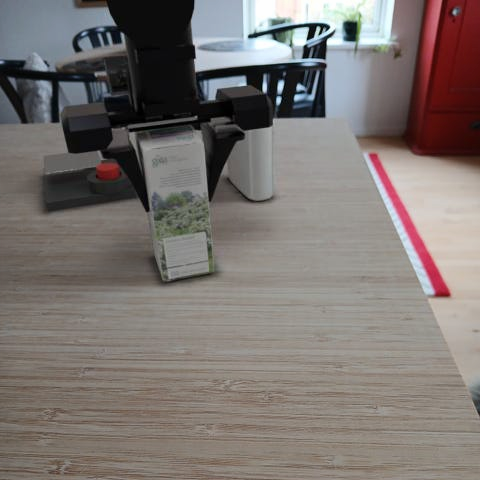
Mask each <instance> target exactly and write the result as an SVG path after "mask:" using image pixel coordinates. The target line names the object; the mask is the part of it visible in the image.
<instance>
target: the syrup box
mask: <svg viewBox="0 0 480 480" xmlns="http://www.w3.org/2000/svg"><path fill="white" fill-rule="evenodd" d="M133 133H134V140H135V146H136V154H137V158H138V161H139V165H140V169H141V172H142V176H143V180H144V183H145V187H146V191H147V194H148V201H149V210H150V212H146V213H147V218H148V224H149V225H148V226H149V230H150V236H151V243H152V248H153V254H154V258H155V261H156V264H157V266H158V270H159V273H160V275H161V279H162V281H163V282H164V283H167V282H173V281H177V280H182V279H183V280H184V279H189V278H193V277H198V276H203V275H210V274H214V273H215V263H214V251H213V239H212V227H211V216H210V202H209V201H208V189H207V177H206V164H205V151H204V143H203V139H201V137H200V134H198V131H197V130H195V129H194V128H193V126H192V125H185V126H177V127H169V128H162V129H154V130H146V131H139V132H133Z"/></svg>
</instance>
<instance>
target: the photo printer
mask: <svg viewBox="0 0 480 480" xmlns="http://www.w3.org/2000/svg"><path fill="white" fill-rule="evenodd" d="M240 130H242V129H240ZM242 131H243V130H242ZM243 132H244V133H245V139H244V140H241V141H237V142H236V143H235V145H234V147H233V149H232V151H231V153H230V155H229V157H228V159H227V161H226V163H227V174H228V179H229V181H230V182H231V183H232V184H233V185H234V186H235V187H236V188H237V190H238V191H240V192H241V193H242V194H243V195H244V196H245V198H248V199H249V200H252V201H254V202H255V201H257V202H259V201H265V200H269V199H271V198H272V196H274V195H275V122H274V120H273V126H271V127H269V128H262V129H255V130H247V131H243Z"/></svg>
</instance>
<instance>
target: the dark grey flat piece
mask: <svg viewBox="0 0 480 480" xmlns="http://www.w3.org/2000/svg"><path fill="white" fill-rule="evenodd" d="M100 161H101V164H104V163H115V164H117V165H118V168H119V174H120V176H119V177H117V178H114V179H108V180H100V179H98V175H97V170H96V169H93V170H86V171H79V172H72V173H65V174H58V175H51V176H45V174H44V173H43V184H44V185H43V186H44V202H45V207H46V210H47V212H48V213H49V212H56V211H61V210H69V209H74V208H80V207H86V206H94V205H99V204H105V203H111V202H112V203H113V202H117V201H125V200H131V199H136V198H137V193H136V191H135V189H134V187H133V185H132V183H131V182H130V180H129V178H128V177H127V176H126V174H125V173H124V171H123V170H122V169H121V167H120V166H119V164H118V163H117V162H116V160H115V159H100ZM42 169H43V172H44V167H43V168H42Z"/></svg>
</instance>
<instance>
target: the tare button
mask: <svg viewBox="0 0 480 480" xmlns="http://www.w3.org/2000/svg"><path fill="white" fill-rule="evenodd" d="M96 170H97V175H98V179H100V180H108V179H114V178H117V177H119V176H120V174H119V168H118V165H117V164H115V163H104V164H100V165H98V166H97V167H96Z"/></svg>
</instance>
